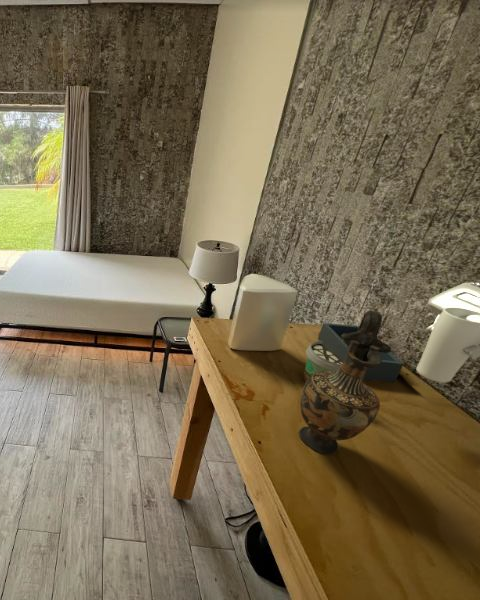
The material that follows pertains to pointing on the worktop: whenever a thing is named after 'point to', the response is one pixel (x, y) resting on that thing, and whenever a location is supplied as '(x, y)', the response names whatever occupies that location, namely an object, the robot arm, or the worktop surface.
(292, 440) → the worktop surface
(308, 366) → the food container
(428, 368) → the white cup
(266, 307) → the white rounded triangular prism
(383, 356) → the blue open box
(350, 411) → the vase
